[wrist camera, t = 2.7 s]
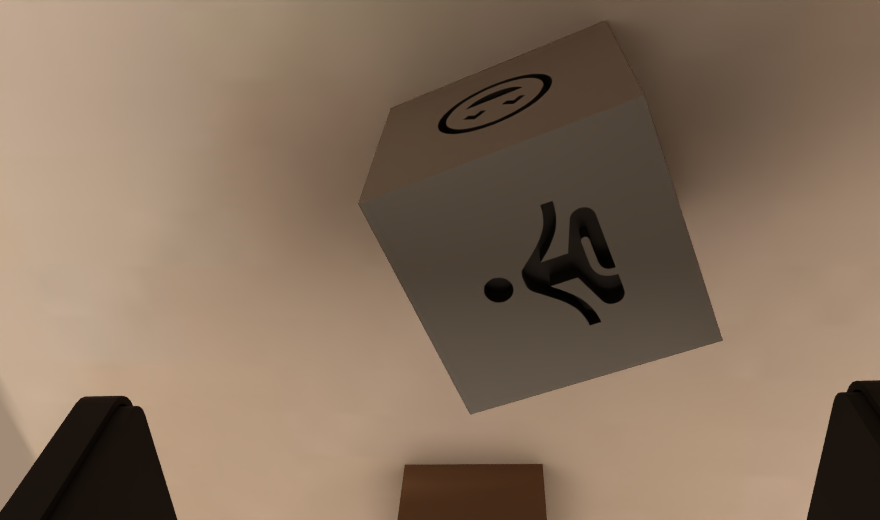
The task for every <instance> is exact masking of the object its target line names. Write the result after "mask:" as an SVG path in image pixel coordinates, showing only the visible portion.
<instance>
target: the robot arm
mask: <svg viewBox="0 0 880 520" xmlns="http://www.w3.org/2000/svg"><path fill="white" fill-rule="evenodd" d="M0 520H177V517H176V514H175V511H174V507H173V504H172V501H171V498H170V494H169V491H168V488H167V485H166V481H165V478H164V475H163V472H162V468H161V465H160V462H159V459H158V455H157V452H156V449H155V446H154V442H153V439H152V436H151V433H150V429H149V426H148V423H147V420H146V416H145V414H144V411H143V409H142V408H141V407H139V406H133V405H132V403H131V401H130V400H129V399H128V398H127V397H125V396H93V397H83V398H81V399H80V400H79V401H78V402H77V403H76V404H75V406H74V407H73V408H72V410H71V411H70V413H69V414H68V416H67V417H66V418H65V420H64V421H63V423H62V424H61V426H60V427H59V429H58V430H57V431H56V433H55V434H54V436H53V437H52V439H51V440H50V442H49V443H48V444H47V446H46V447H45V449H44V450H43V452H42V453H41V454H40V456H39V457H38V459H37V460H36V462H35V463H34V465H33V466H32V467H31V469H30V470H29V472H28V473H27V475H26V476H25V477H24V479H23V480H22V482H21V483H20V485H19V486H18V488H17V489H16V490H15V492H14V493H13V495H12V496H11V498H10V499H9V501H8V502H7V503H6V505H5V506H4V508H3V509H2V510H1V512H0ZM807 520H880V380H878V381H855V382H852V383H851V385H850V386H849V388H848V390H847V392H841V393H838V394H837V395H836V396H835V399H834V402H833V407H832V411H831V415H830V420H829V424H828V429H827V433H826V437H825V442H824V446H823V451H822V455H821V459H820V464H819V468H818V472H817V477H816V481H815V486H814V490H813V494H812V499H811V503H810V508H809V512H808V516H807Z"/></svg>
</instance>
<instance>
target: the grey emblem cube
mask: <svg viewBox="0 0 880 520" xmlns="http://www.w3.org/2000/svg"><path fill="white" fill-rule="evenodd" d="M358 204H359V206H360V208H361V210H362V212H363V214H364V216H365V218H366V219H367V221H368V223H369V225H370V227H371V229H372V231H373V233H374V235H375V236H376V238H377V240H378V242H379V244H380V246H381V248H382V250H383V251H384V253H385V255H386V257H387V259H388V261H389V263H390V265H391V266H392V268H393V270H394V272H395V274H396V276H397V278H398V280H399V282H400V283H401V285H402V287H403V289H404V291H405V293H406V295H407V297H408V298H409V300H410V302H411V304H412V306H413V308H414V310H415V312H416V314H417V315H418V317H419V319H420V321H421V323H422V325H423V327H424V329H425V330H426V332H427V334H428V336H429V338H430V340H431V342H432V344H433V345H434V347H435V349H436V351H437V353H438V355H439V357H440V359H441V361H442V362H443V364H444V366H445V368H446V370H447V372H448V374H449V376H450V377H451V379H452V381H453V383H454V385H455V387H456V389H457V391H458V393H459V394H460V396H461V398H462V400H463V402H464V404H465V406H466V408H467V409H468V411H469V413H470V414H474V413H477V412H481V411H484V410H487V409H491V408H494V407H498V406H501V405H505V404H508V403H511V402H515V401H518V400H522V399H525V398H528V397H532V396H535V395H539V394H542V393H545V392H549V391H552V390H556V389H559V388H563V387H566V386H569V385H573V384H576V383H580V382H583V381H586V380H590V379H593V378H597V377H600V376H603V375H607V374H610V373H614V372H617V371H620V370H624V369H627V368H631V367H634V366H638V365H641V364H644V363H648V362H651V361H655V360H658V359H661V358H665V357H668V356H672V355H675V354H678V353H682V352H685V351H689V350H692V349H696V348H699V347H702V346H706V345H709V344H713V343H716V342H719V341H723V340H722V337H721V333H720V330H719V327H718V324H717V321H716V318H715V315H714V311H713V308H712V305H711V302H710V299H709V296H708V293H707V290H706V286H705V283H704V280H703V277H702V274H701V271H700V268H699V265H698V261H697V258H696V255H695V252H694V249H693V246H692V243H691V240H690V236H689V233H688V230H687V227H686V224H685V221H684V218H683V214H682V211H681V208H680V205H679V202H678V199H677V196H676V193H675V189H674V186H673V183H672V180H671V177H670V174H669V171H668V168H667V164H666V161H665V158H664V155H663V152H662V149H661V146H660V143H659V139H658V136H657V133H656V130H655V127H654V124H653V121H652V117H651V114H650V111H649V108H648V105H647V102H646V99H645V96H644V94H643V92H642V90H641V88H640V86H639V84H638V82H637V80H636V78H635V76H634V74H633V72H632V70H631V68H630V66H629V64H628V62H627V61H626V59H625V57H624V55H623V53H622V51H621V49H620V47H619V45H618V43H617V41H616V39H615V37H614V35H613V33H612V31H611V29H610V27H609V26H608V24H607V22H606V21H603V22H601V23H598V24H596V25H593V26H591V27H588V28H586V29H584V30H581V31H579V32H576V33H574V34H571V35H569V36H566V37H564V38H562V39H559V40H557V41H554V42H552V43H549V44H547V45H544V46H542V47H540V48H537V49H535V50H532V51H530V52H527V53H525V54H522V55H520V56H518V57H515V58H513V59H510V60H508V61H505V62H503V63H500V64H498V65H496V66H493V67H491V68H488V69H486V70H483V71H481V72H478V73H476V74H474V75H471V76H469V77H466V78H464V79H461V80H459V81H456V82H454V83H452V84H449V85H447V86H444V87H442V88H439V89H437V90H434V91H432V92H430V93H427V94H425V95H422V96H420V97H417V98H415V99H412V100H410V101H408V102H405V103H403V104H400V105H398V106H395V107H393V108H391V110H390V112H389V115H388V118H387V121H386V124H385V127H384V130H383V133H382V136H381V139H380V142H379V145H378V148H377V150H376V153H375V156H374V159H373V162H372V165H371V168H370V171H369V174H368V177H367V180H366V183H365V186H364V188H363V191H362V194H361V197H360V200H359V203H358Z"/></svg>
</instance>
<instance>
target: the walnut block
mask: <svg viewBox="0 0 880 520" xmlns="http://www.w3.org/2000/svg"><path fill="white" fill-rule="evenodd" d="M398 520H547V517H546V504H545V491H544V478H543V465H542V464H460V465H405V468H404V476H403V484H402V491H401V499H400V506H399V514H398Z"/></svg>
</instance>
